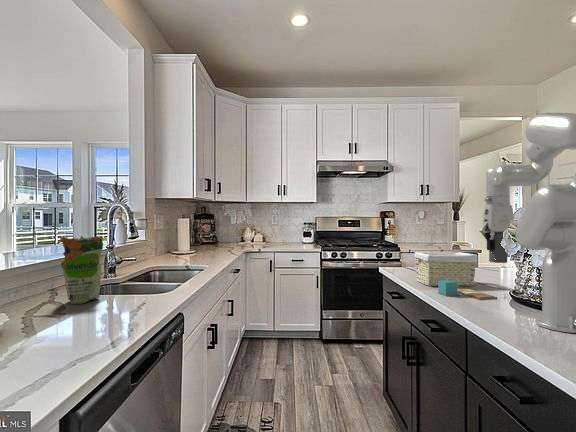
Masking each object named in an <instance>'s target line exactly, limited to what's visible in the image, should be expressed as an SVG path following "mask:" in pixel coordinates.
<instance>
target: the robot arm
mask: <svg viewBox="0 0 576 432" xmlns="http://www.w3.org/2000/svg"><path fill="white" fill-rule="evenodd" d="M524 129H525V130H524V134H525V135H524V136H525V138H526V139H527V140H528V142H527V143H526V145H525V147H524V152H525V155H526V156H527V158H528V159H529V160H530V161H531V163H529V164H502V165H498V166H497V167H493V168H489V169H487V171H486V174H485V175H486V176H485V178H486V179H485V180H486V182H485V186H486V189H485V190H486V191H485V197H486V198H484V202H485V203H486V205H485V204H484V205H485V206H484V209H483V216H482V217H483V218H482V225H481V226H480V227H479V229H478V231H479V232H480V233H481V234H482V236H483V238H484V240H486V251H489V250H490V251H494V250H495V240H493V238H494V234H495V232H504V231H505V230H506V229H507V228H508V227H509V226H510V221H511V220H513V219H514V220H515V215H514V208H513V206H512V205H511V203H510V202H511V198H510V197H511V189H510V187H531V186H535V185H536V184H537V183H540V182H541V181H542V180H544V179H546V177H547V176H549V174H550V173H551V171H552V170H553V166H554V159H555V158H556V157H557V156H559V155H560V154H561V153H563V152H564V151H565V150H572V151H573V150H576V113H575V112H574V113H573V112H542V113H541V112H540V113H538V114H536V115H535V116H533V117H532V118H530V119H529V121H528V122H527V124H526V126H525V128H524ZM510 217H511V218H510ZM509 219H510V220H509ZM490 233H491V234H490ZM515 238H516V241H517V243H518V244H519V246H521V247H522V248H524V249H526V250H531V251H547V252H546V254H545V256H544V257H543V260H542V263H541V299H542V300H541V315H542V316H538V317H537V318H535V324H536V325H538V326H539V327H542V328H544V329H547V330H553V331H557V332H563V333H570V334H576V173H575V174H574V176H573V177H572V179H571V180H570V182H568V183H565V184H564V183H563V184H561V183H560V184H559V183H558V184H548V185H547V184H546V185H544V186H542V187H540V188H538V189H537V190H536V191H535V192H534V193H533V194H532V196H531V198H530V200H529V202H528V204H527V205H526V208H525V209H524V211H523V214H522V216H521V218H520V220H519V221H518V224H517V226H516V232H515Z"/></svg>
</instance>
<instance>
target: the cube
mask: <svg viewBox="0 0 576 432" xmlns="http://www.w3.org/2000/svg"><path fill="white" fill-rule="evenodd" d="M437 287H438V290H437V291H438V292H439V293H441V294H440V295H442V294H444V295H443V296H445V295H457V294H458V293H457V282H455V281H451V280H438V286H437ZM438 292H437V293H438ZM439 293H438V294H439Z"/></svg>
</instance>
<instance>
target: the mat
mask: <svg viewBox="0 0 576 432" xmlns="http://www.w3.org/2000/svg"><path fill="white" fill-rule="evenodd" d="M437 294H439V295H443V296H446V297H458V296H459V297H460V296H461V294H459V293H457V295H444V294H441V293H439V292H437Z"/></svg>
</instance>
